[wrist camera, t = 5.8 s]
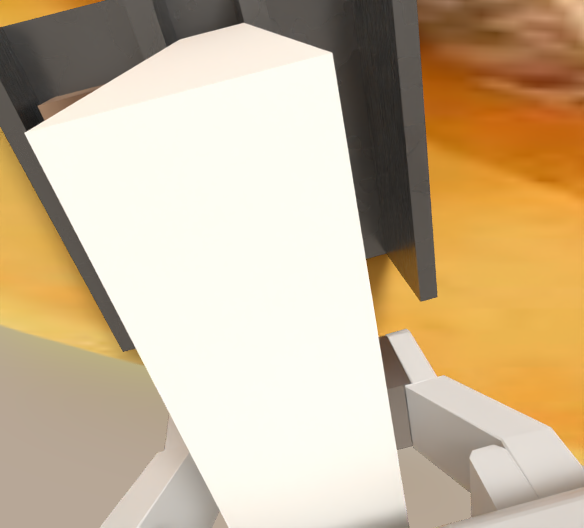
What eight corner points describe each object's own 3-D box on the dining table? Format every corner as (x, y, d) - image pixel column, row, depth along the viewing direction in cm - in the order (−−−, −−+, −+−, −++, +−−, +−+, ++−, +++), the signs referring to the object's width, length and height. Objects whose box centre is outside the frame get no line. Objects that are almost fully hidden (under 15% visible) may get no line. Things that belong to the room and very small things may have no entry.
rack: (357, -63, 23) (410, -91, 17) (394, 241, 32) (437, 297, 26) (-8, 31, 23) (-92, 38, 17) (133, 313, 32) (113, 386, 26)
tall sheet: (244, 22, 16) (331, 52, 3) (317, 322, 23) (438, 709, 10) (179, 39, 16) (23, 133, 3) (272, 334, 23) (337, 737, 10)
